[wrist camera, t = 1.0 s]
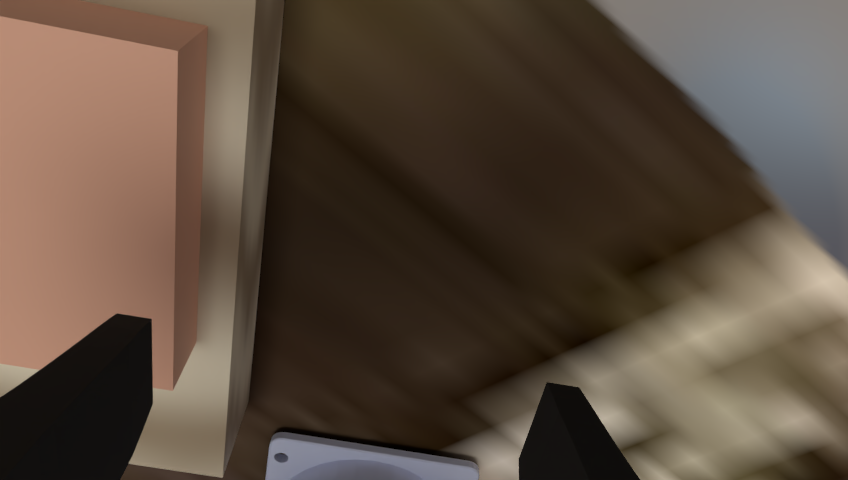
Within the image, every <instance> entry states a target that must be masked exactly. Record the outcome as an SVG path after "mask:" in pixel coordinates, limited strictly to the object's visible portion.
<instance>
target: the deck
mask: <svg viewBox="0 0 848 480" xmlns="http://www.w3.org/2000/svg"><path fill="white" fill-rule="evenodd" d="M81 1H86V2H91V3H96V4H101V5H106V6H111V7H116V8H121V9H126V10H131V11H136V12H141V13H146V14H151V15H156V16H161V17H166V18H171V19H176V20H181V21H186V22H191V23H196V24H201V25H206V26H208V33H207V61H206V89H205V117H204V144H203V172H202V200H201V228H200V255H199V283H198V311H197V339H196V344H195V346H194V348H193V350H192V352H191V354H190V356H189V358H188V361H187V363H186V365H185V367H184V369H183V371H182V373H181V375H180V377H179V379H178V381H177V383H176V386H175V388H174V390H173V391H170V390H163V389H157V388H153V405H152V407H151V410H150V413H149V415H148V418H147V421H146V423H145V426H144V429H143V431H142V434H141V436H140V439H139V441H138V444H137V446H136V448H135V451H134V453H133V456H132V458H131V460H130V461H129V463H128V464H134V465H141V466H148V467H154V468H161V469H168V470H174V471H181V472H188V473H194V474H201V475H208V476H214V477H221V478H223V475H224V472H225V470H226V467H227V464H228V461H229V458H230V455H231V452H232V449H233V446H234V443H235V440H236V437H237V434H238V431H239V428H240V425H241V422H242V419H243V417H244V414H245V411H246V408H247V405H248V402H249V391H250V380H251V369H252V358H253V347H254V336H255V325H256V313H257V302H258V291H259V280H260V269H261V258H262V247H263V235H264V224H265V213H266V202H267V191H268V180H269V169H270V157H271V146H272V135H273V124H274V113H275V102H276V91H277V79H278V68H279V57H280V46H281V35H282V24H283V12H284V1H285V0H81ZM38 371H39V370H38V369H31V368H25V367H19V366H12V365H6V364H0V397H1V396H3V395H4V394H6V393H8V392H9V391H10V390H12V389H13V388H15V387H16V386H18V385H19V384H21V383H22V382H23V381H25V380H26V379H28V378H29V377H30V376H32V375H33V374H35V373H36V372H38Z"/></svg>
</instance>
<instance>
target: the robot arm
mask: <svg viewBox="0 0 848 480" xmlns="http://www.w3.org/2000/svg"><path fill="white" fill-rule="evenodd" d="M152 405H153V372H152V319H149V318H143V317H137V316H130V315H124V314H118V313H117V314H115V315H114V316H112V317H111V318H109V319H108V320H107V321H105V322H104V323H102V324H101V325H100V326H98V327H97V328H96V329H94V330H93V331H92V332H90V333H89V334H88V335H86V336H85V337H84V338H82V339H81V340H80V341H79V342H77V343H76V344H75V345H73V346H72V347H71V348H69V349H68V350H66V351H65V352H64V353H62V354H61V355H60V356H58V357H57V358H56V359H54V360H53V361H52V362H50V363H49V364H47V365H46V366H45V367H43V368H42V369H40V370H39V371H38V372H36V373H35V374H33V375H32V376H30V377H29V378H28V379H26V380H25V381H23V382H22V383H21V384H19V385H18V386H16V387H15V388H13V389H12V390H10V391H9V392H8V393H6V394H4V395H3V396H1V397H0V480H120V478H121V476H122V475H123V473H124V471H125V469H126V467H127V465H128V463H129V461H130V460H131V458H132V456H133V453H134V451H135V448H136V446H137V444H138V441H139V439H140V436H141V434H142V431H143V429H144V426H145V423H146V421H147V418H148V415H149V413H150V410H151V407H152ZM280 453H284V455H283V454H280ZM478 479H479V468H478V466H477V465H476V464H475V463H474V462H471V461H468V460H461V459H455V458H448V457H442V456H436V455H429V454H423V453H416V452H410V451H404V450H397V449H391V448H384V447H378V446H372V445H365V444H359V443H352V442H346V441H340V440H333V439H327V438H320V437H314V436H308V435H301V434H295V433H288V432H279V433H276V434H274V435H273V436H272V438H271V441H270V445H269V452H268V461H267V470H266V478H265V480H478ZM519 480H640V479H639V478H638V476H637V475H636V473H635V472H634V470H633V469H632V467H631V466H630V465H629V463H628V462H627V460H626V459H625V457H624V456H623V454H622V453H621V451H620V450H619V448H618V447H617V445H616V444H615V442H614V441H613V439H612V438H611V436H610V435H609V433H608V432H607V430H606V428H605V427H604V425H603V424H602V422H601V421H600V419H599V418H598V416H597V414H596V413H595V411H594V410H593V408H592V407H591V405H590V403H589V402H588V400H587V399H586V397H585V396H584V394H583V393H582V391H581V390H580V388H579V387H573V386H567V385H560V384H554V383H548V382H547V384H546V386H545V389H544V392H543V395H542V397H541V400H540V403H539V405H538V408H537V411H536V414H535V416H534V419H533V422H532V425H531V427H530V430H529V433H528V436H527V438H526V441H525V444H524V446H523V449H522V452H521V455H520V457H519Z"/></svg>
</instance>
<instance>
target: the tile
mask: <svg viewBox="0 0 848 480" xmlns="http://www.w3.org/2000/svg"><path fill="white" fill-rule="evenodd" d="M207 33H208V26H206V25H201V24H196V23H191V22H186V21H181V20H176V19H171V18H166V17H161V16H156V15H151V14H146V13H141V12H136V11H131V10H126V9H121V8H116V7H111V6H106V5H101V4H96V3H91V2H86V1H81V0H0V364H6V365H12V366H19V367H25V368H31V369H38V370H40V369H42V368H43V367H45V366H46V365H47V364H49V363H50V362H52V361H53V360H54V359H56V358H57V357H58V356H60V355H61V354H62V353H64V352H65V351H66V350H68V349H69V348H71V347H72V346H73V345H75V344H76V343H77V342H79V341H80V340H81V339H82V338H84V337H85V336H86V335H88V334H89V333H90V332H92V331H93V330H94V329H96V328H97V327H98V326H100V325H101V324H102V323H104V322H105V321H107V320H108V319H109V318H111V317H112V316H114V315H115V314H117V313H118V314H124V315H130V316H137V317H143V318H149V319H152V372H153V388H157V389H163V390H170V391H173V390H174V388H175V386H176V383H177V381H178V379H179V377H180V375H181V373H182V371H183V369H184V367H185V365H186V363H187V361H188V358H189V356H190V354H191V352H192V350H193V348H194V346H195V344H196V339H197V311H198V283H199V255H200V228H201V200H202V172H203V144H204V117H205V89H206V61H207Z"/></svg>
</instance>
